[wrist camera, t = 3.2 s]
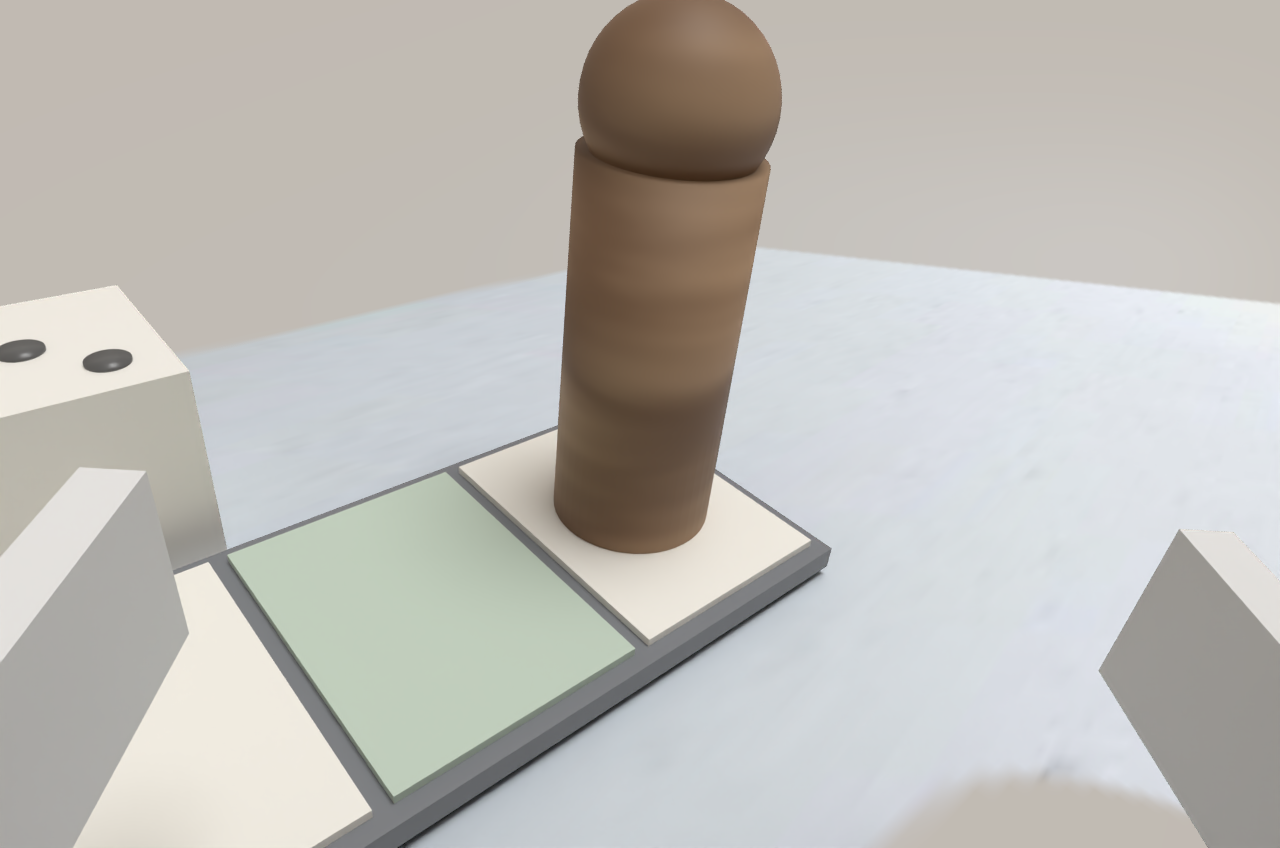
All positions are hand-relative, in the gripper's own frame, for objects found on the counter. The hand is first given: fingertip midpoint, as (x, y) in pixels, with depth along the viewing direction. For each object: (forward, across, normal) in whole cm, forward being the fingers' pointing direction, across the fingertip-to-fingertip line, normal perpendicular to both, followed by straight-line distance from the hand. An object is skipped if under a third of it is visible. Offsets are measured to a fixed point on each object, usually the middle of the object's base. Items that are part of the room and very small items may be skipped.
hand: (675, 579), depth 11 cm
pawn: (+9, 0, -6) cm, 11 cm away
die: (+8, -13, -7) cm, 17 cm away
